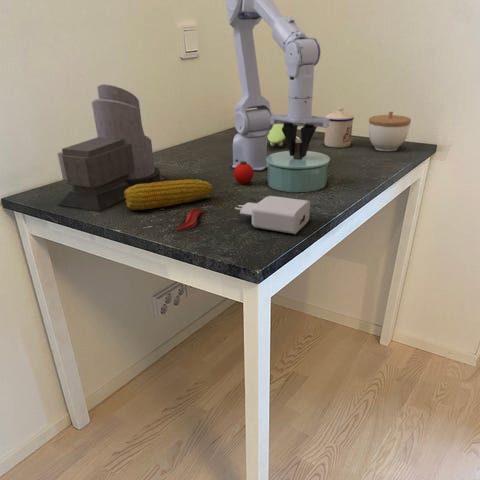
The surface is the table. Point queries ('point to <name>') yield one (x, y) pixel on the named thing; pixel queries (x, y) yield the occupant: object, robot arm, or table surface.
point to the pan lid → (297, 159)
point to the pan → (297, 178)
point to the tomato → (243, 172)
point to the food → (166, 193)
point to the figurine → (278, 135)
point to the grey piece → (109, 154)
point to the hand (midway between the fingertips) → (297, 155)
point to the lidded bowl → (388, 131)
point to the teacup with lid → (339, 129)
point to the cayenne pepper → (190, 219)
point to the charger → (278, 214)
